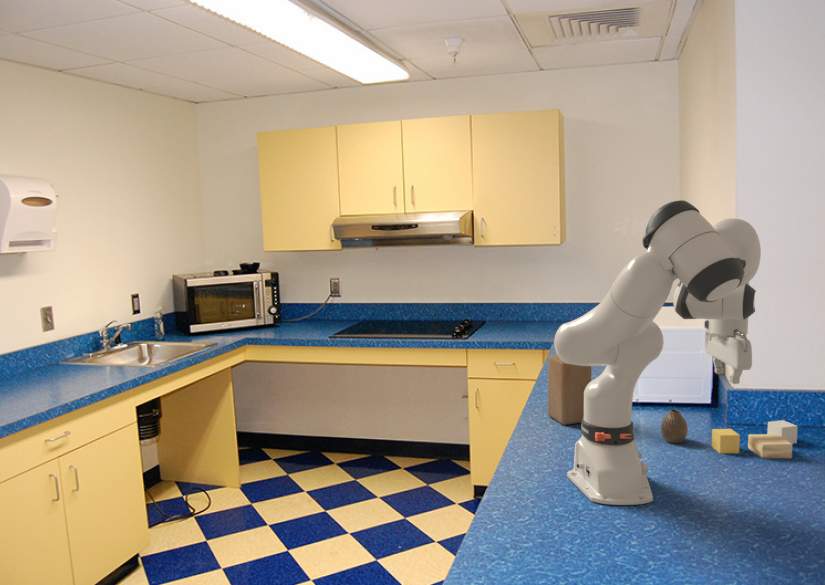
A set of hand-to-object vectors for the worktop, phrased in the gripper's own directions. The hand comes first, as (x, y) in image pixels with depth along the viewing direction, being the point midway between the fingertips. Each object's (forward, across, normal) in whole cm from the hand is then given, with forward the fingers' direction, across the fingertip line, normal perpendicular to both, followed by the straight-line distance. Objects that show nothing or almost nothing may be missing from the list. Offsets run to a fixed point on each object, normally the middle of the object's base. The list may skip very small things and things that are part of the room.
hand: (726, 378), depth 169 cm
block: (+20, +26, +36) cm, 49 cm away
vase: (+20, +7, +11) cm, 24 cm away
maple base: (+20, -2, -11) cm, 23 cm away
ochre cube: (+20, 0, 0) cm, 20 cm away
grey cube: (+20, +6, -18) cm, 28 cm away
